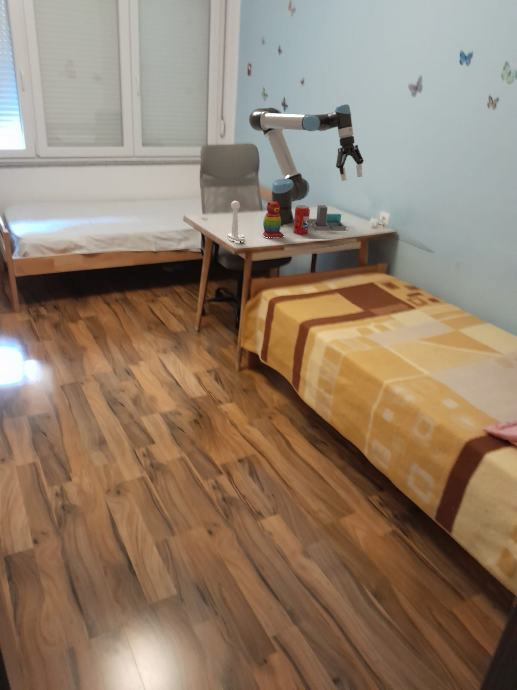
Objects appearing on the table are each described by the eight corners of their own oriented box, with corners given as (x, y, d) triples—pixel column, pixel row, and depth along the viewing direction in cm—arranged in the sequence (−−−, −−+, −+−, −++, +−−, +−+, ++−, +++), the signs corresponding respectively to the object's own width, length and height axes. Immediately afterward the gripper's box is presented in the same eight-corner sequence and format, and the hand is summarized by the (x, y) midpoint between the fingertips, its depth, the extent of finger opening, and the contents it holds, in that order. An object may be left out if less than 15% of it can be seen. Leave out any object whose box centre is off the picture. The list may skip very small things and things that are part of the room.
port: (331, 230, 288) (332, 219, 285) (325, 224, 299) (326, 213, 296) (345, 230, 289) (346, 219, 286) (338, 224, 300) (339, 213, 297)
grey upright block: (318, 229, 288) (320, 207, 283) (315, 226, 294) (317, 204, 288) (325, 229, 289) (327, 207, 283) (322, 226, 294) (324, 204, 289)
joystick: (225, 238, 270) (225, 198, 260) (238, 236, 273) (239, 197, 264) (236, 244, 262) (237, 203, 252) (249, 242, 265) (250, 202, 256)
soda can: (291, 232, 284) (293, 204, 277) (305, 232, 286) (307, 204, 279) (295, 236, 277) (297, 208, 270) (309, 236, 279) (312, 208, 272)
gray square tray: (317, 234, 284) (317, 228, 282) (309, 225, 298) (310, 220, 297) (347, 234, 286) (348, 228, 285) (338, 225, 301) (338, 220, 300)
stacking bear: (266, 239, 271) (268, 204, 263) (258, 233, 279) (260, 200, 271) (285, 237, 275) (287, 203, 267) (276, 232, 283) (278, 199, 275)
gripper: (336, 137, 263) (342, 181, 270) (366, 133, 278) (372, 174, 284) (325, 140, 269) (331, 183, 275) (355, 136, 284) (361, 176, 290)
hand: (352, 178), depth 280 cm, fingers open, 13 cm apart
